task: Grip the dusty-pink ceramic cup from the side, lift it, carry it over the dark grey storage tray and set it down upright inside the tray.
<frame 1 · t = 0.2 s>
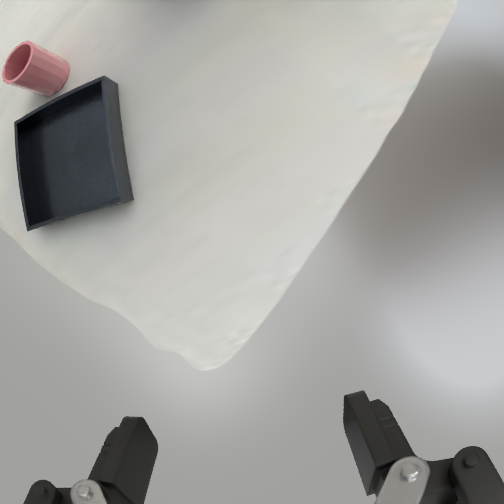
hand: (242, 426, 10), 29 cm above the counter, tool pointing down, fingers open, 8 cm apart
dark grey storage tray: (73, 157, 34), on the counter
cup: (54, 77, 31), on the counter
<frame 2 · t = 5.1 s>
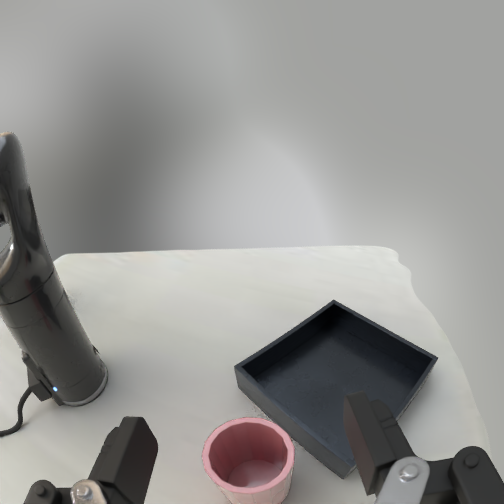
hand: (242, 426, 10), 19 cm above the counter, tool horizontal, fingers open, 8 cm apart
dark grey storage tray: (338, 388, 31), on the counter
cup: (256, 484, 21), on the counter
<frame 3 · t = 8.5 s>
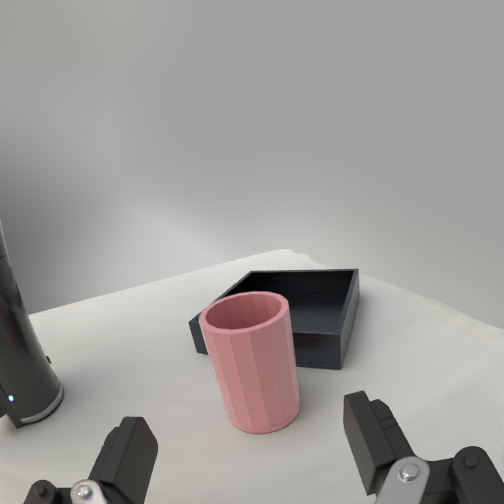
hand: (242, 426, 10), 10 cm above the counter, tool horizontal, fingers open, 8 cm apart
dark grey storage tray: (287, 323, 37), on the counter
cup: (263, 407, 23), on the counter
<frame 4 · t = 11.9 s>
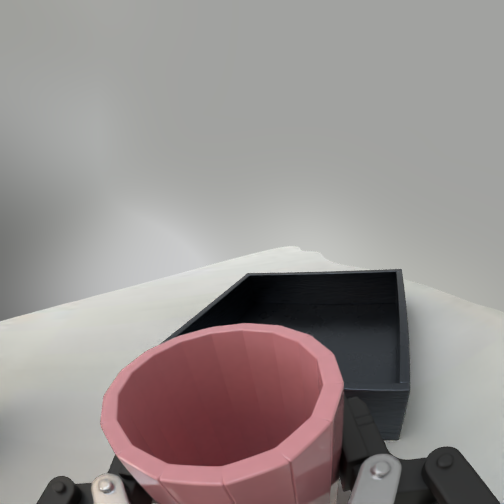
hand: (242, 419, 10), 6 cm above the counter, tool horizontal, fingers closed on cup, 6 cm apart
dark grey storage tray: (302, 353, 24), on the counter
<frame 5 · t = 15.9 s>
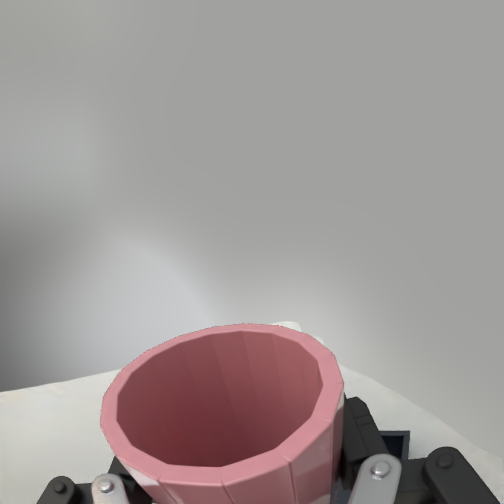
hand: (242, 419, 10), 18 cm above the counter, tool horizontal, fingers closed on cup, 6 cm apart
when the fingers open (7 cm above the counter, at t = 20.2 s): cup stays where it is, resting on dark grey storage tray.
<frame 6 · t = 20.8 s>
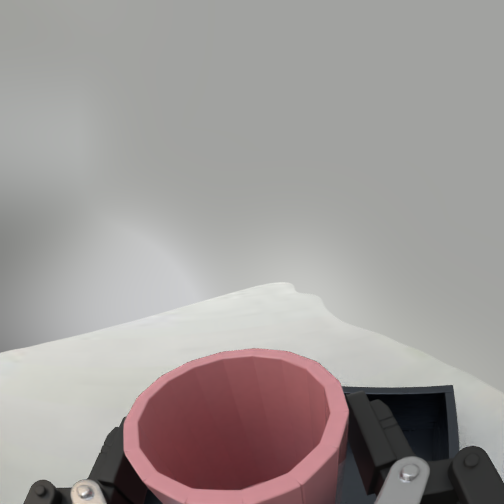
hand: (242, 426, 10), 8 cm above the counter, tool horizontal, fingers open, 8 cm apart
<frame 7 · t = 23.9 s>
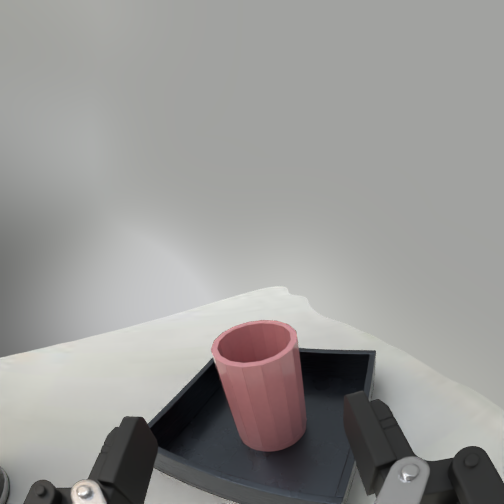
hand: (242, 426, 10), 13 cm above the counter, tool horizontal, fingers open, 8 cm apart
dark grey storage tray: (272, 431, 24), on the counter
cup: (272, 426, 23), point 1 cm above the counter, touching dark grey storage tray
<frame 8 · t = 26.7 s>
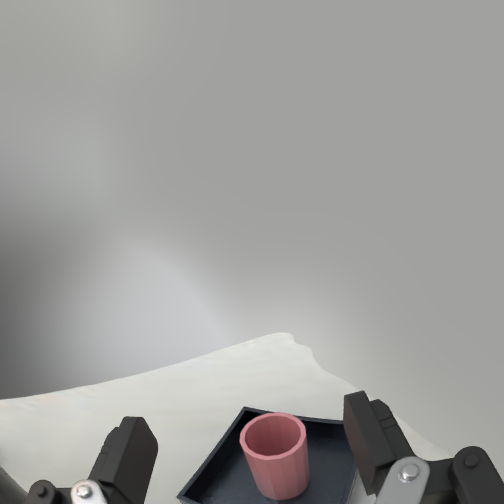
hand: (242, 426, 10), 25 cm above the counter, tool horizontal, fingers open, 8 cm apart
dark grey storage tray: (282, 482, 27), on the counter
cup: (282, 479, 26), point 1 cm above the counter, touching dark grey storage tray
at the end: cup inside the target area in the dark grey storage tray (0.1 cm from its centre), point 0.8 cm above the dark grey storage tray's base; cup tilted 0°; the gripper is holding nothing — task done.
